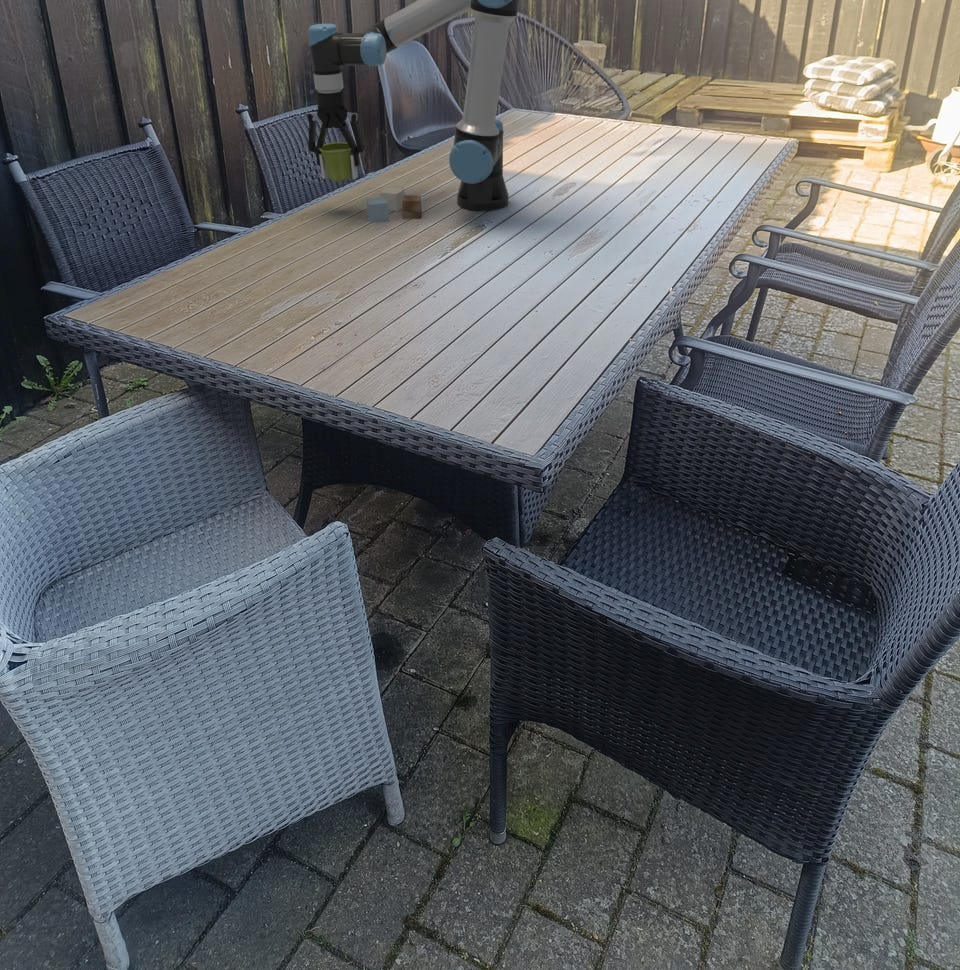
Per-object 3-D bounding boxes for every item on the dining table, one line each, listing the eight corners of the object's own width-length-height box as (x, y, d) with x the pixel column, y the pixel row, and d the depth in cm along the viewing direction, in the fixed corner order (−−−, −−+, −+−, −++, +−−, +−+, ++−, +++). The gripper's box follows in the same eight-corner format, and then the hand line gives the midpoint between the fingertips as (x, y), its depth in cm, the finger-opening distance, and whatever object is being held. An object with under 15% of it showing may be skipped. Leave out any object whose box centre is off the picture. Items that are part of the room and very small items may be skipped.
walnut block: (421, 213, 241) (420, 195, 238) (420, 218, 237) (420, 200, 234) (404, 213, 241) (403, 195, 238) (403, 218, 237) (402, 200, 234)
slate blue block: (385, 215, 240) (383, 197, 237) (388, 220, 236) (387, 203, 233) (367, 217, 238) (366, 199, 236) (370, 222, 235) (369, 204, 232)
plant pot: (351, 184, 233) (347, 151, 228) (318, 183, 234) (314, 150, 229) (361, 174, 240) (358, 142, 235) (330, 173, 242) (326, 142, 237)
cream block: (405, 206, 246) (404, 189, 243) (397, 211, 242) (395, 194, 239) (390, 204, 247) (389, 187, 245) (381, 209, 244) (380, 192, 241)
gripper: (371, 87, 225) (379, 174, 238) (296, 87, 228) (308, 173, 242) (364, 93, 219) (372, 182, 232) (287, 92, 222) (300, 180, 236)
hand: (340, 177), depth 237 cm, fingers closed on plant pot, 8 cm apart
